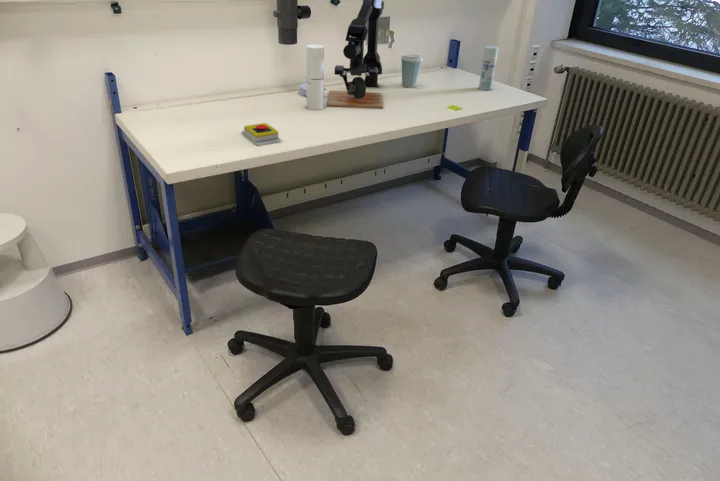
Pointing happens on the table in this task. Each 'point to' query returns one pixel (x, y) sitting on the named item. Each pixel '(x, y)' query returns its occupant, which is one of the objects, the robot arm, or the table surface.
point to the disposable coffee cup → (410, 69)
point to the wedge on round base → (304, 89)
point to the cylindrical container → (315, 76)
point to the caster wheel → (357, 87)
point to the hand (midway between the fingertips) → (355, 90)
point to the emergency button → (261, 134)
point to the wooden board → (354, 100)
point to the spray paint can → (488, 67)
